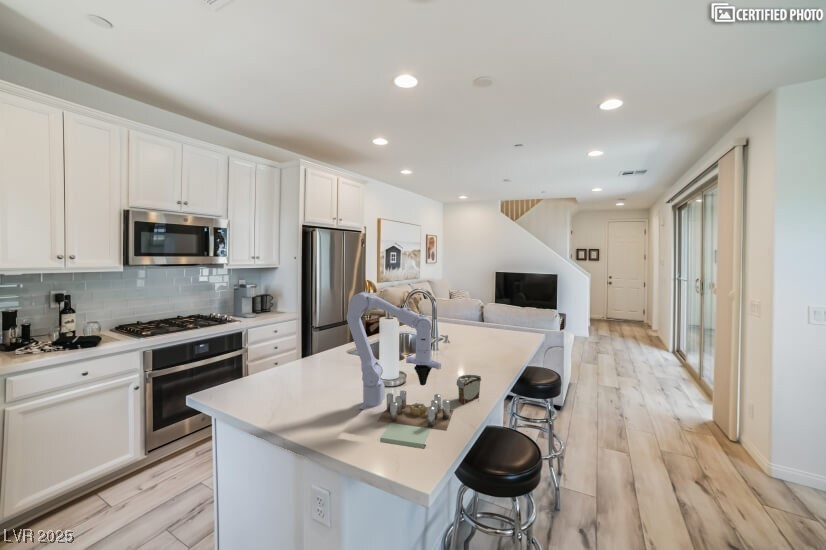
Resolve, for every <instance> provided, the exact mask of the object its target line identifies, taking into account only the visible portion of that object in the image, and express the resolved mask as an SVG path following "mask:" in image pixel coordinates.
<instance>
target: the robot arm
mask: <svg viewBox="0 0 826 550" xmlns="http://www.w3.org/2000/svg"><path fill="white" fill-rule="evenodd" d="M367 309H368V310H371V309H379V310H381V311H383V312H386V313H387V314H390V315H393V316H394V317H396V318H397V321H398V322H400V323H402V324H404V325H405V326H407V327H410V328H412V329H415V331H416V337H415V356H414V357H413V356H407V357H405V358H406V359H405V361H406V362H405V363H406V364H414V365H415V366H414V368H413V369H414V371H415V372H416V374H417V377H418V382H419V385H420V386H425V385H426V384H427V380H428V377H429V375H430V372H431V371H432V369H436V370H437V371H438V370H441V369H442V363H440V362H437V361H435V360H432V336H431V335H432V332H431V330H432V321H431V318H429V317H428V316H426V315H423V314H422V313H417V312H415V311H413V310H412V308H410V307H402V308H400V307H397V306H396V305H393V304H392V303H390V302H388V301H387V300H384V299H383V298H381V297H379V296H378V295H375V294H373V293H371V294H370V292H367V291H361V292H359V293H356V294H354V295H353V296H352V297H351V299H350V300H349V302H348V309H347V313H346V322H347V325H348V328H349V329H350V333H351V336H352V340H353V342H354V345H355V348H356V351H357V353H358V357H359V359H360V362H361V363H360V364H361V366H360V367H361V372H362V378H361V379H362V389H363V390H362V393H363V394H362V404H361V405H360V406H359V407H358V409H359V410H365V408H367V407H371V408H372V407H378V406H380V405H382V404H383V401H384V400H385V392H386V391H385V388H386V387H385V383H384V382H383V380H382V379H381V376H382V375H383V373H384V371H383V370H384V369H383V367H382V365H380V363H379V362H378V360H377V358H376V356H374V353H373V350H372V347H371V344H370V341H369V338H368V335H367V333H366V330H365V326H364V325H363V321H362V316H363V314H364V313H365V311H366V310H367Z"/></svg>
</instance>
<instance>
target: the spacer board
mask: <svg viewBox="0 0 826 550" xmlns="http://www.w3.org/2000/svg"><path fill="white" fill-rule="evenodd" d="M410 405H411V404H408V403H406V408H405V409H402V415H397V422H391V421H390V412H387V408H386V409H385V410H384V411H383V412H382V414H381V415H380V416H379V417H378V419H377V420H376V422H378V423H379V422H380V423H386V424H387V423H388V424H390V423H394V424H401V425H409V426H416V427H423V428H430V429H431V430H437V431H447V430H448V427H449V424H450V422H451V418H452V415H453V413H454V409H449V419H443V418H442V411H443V408H441V412H440V413H438V419H437V420H435V426H434V427H428V426H427V416H428V407H429V406H425V407H426V414H425V415H423V416H412V414H411V413H410Z"/></svg>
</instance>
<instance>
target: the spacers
mask: <svg viewBox="0 0 826 550" xmlns="http://www.w3.org/2000/svg"><path fill="white" fill-rule="evenodd" d="M441 400H442V395H441V394H439V393H435V394H434V395H433V399H432V400H431V401H430V406H427V407H428V416H427V426H428V427H434V426H435V420H437V419H438V413H440V412H441V409H443V411H442V418H443V419H449V410H450V404H451V403H450V400H449V399H443V400H442V402H441ZM406 404H407V390H404V389H403V390H400V391H399V395H397V396H395V401H394V394H393V393H391V392H390V393H389V392H388V393H386V409H387V412H390V421H391V422H397V415H402V409H405V408H406Z"/></svg>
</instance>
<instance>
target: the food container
mask: <svg viewBox="0 0 826 550" xmlns="http://www.w3.org/2000/svg"><path fill="white" fill-rule="evenodd" d="M481 381H482V377H481V376H480V375H476V374H465V375H464V374H463V375H461V376H458V377H457V379H456V386H457V388H458V401H459V403H461V404H462V405H466V404H469V403H470V402H472V401H475V400H477V402H480V389H481Z"/></svg>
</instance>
